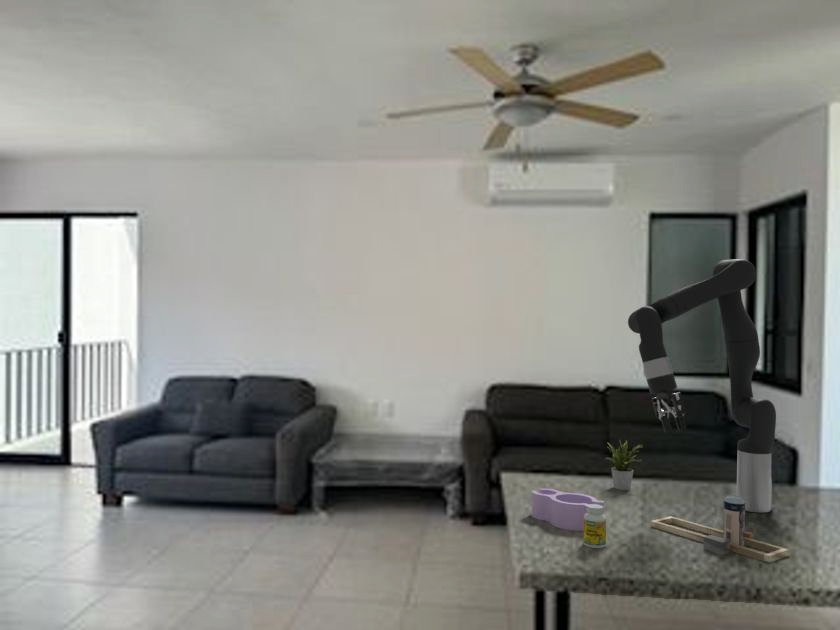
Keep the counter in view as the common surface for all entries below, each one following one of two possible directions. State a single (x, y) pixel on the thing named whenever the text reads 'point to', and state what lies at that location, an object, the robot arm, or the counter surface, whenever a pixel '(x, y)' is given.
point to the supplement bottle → (594, 527)
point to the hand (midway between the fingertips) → (675, 431)
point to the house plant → (622, 466)
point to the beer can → (734, 519)
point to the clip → (562, 508)
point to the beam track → (720, 540)
